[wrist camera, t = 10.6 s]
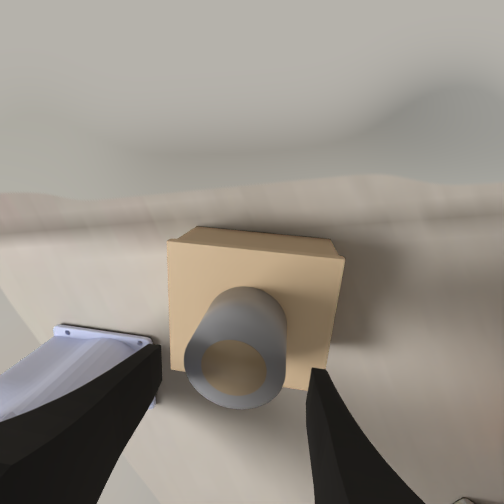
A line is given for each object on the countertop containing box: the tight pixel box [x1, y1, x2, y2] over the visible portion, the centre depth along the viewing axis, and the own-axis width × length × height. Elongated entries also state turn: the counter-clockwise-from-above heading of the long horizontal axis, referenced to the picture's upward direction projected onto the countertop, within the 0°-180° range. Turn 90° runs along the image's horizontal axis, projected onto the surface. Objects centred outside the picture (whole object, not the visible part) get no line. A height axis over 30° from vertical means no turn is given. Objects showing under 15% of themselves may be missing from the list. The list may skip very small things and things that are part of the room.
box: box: [178, 226, 339, 256], centre depth 20 cm, size 10×9×4 cm
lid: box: [167, 239, 345, 391], centre depth 17 cm, size 10×9×1 cm
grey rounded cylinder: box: [184, 286, 287, 409], centre depth 15 cm, size 5×5×4 cm
